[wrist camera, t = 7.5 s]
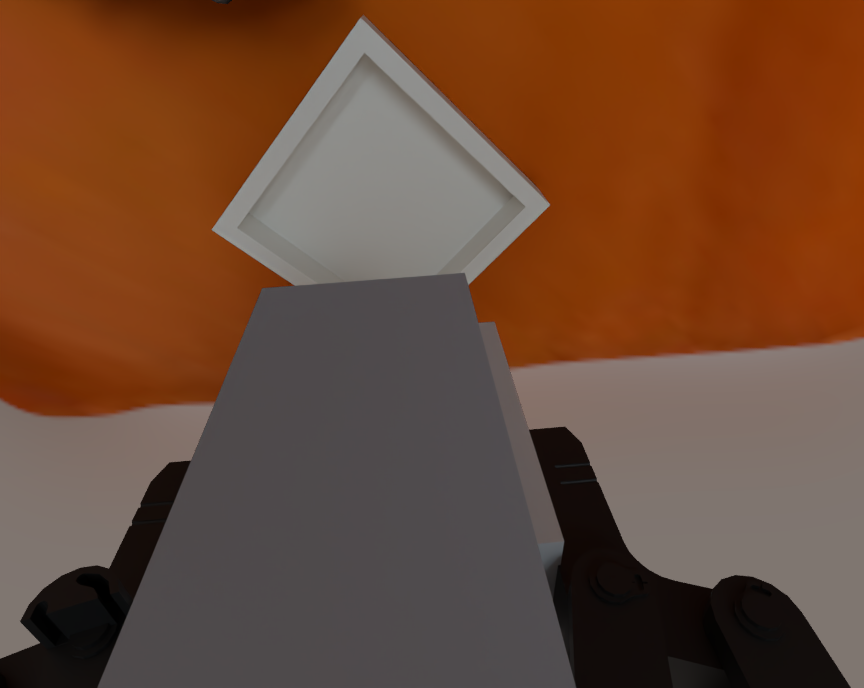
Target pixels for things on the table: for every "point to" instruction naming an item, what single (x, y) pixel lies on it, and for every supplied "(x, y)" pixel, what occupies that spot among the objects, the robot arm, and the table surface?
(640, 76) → the table surface
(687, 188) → the table surface
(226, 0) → the fruit
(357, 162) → the tray
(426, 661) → the block
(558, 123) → the table surface
